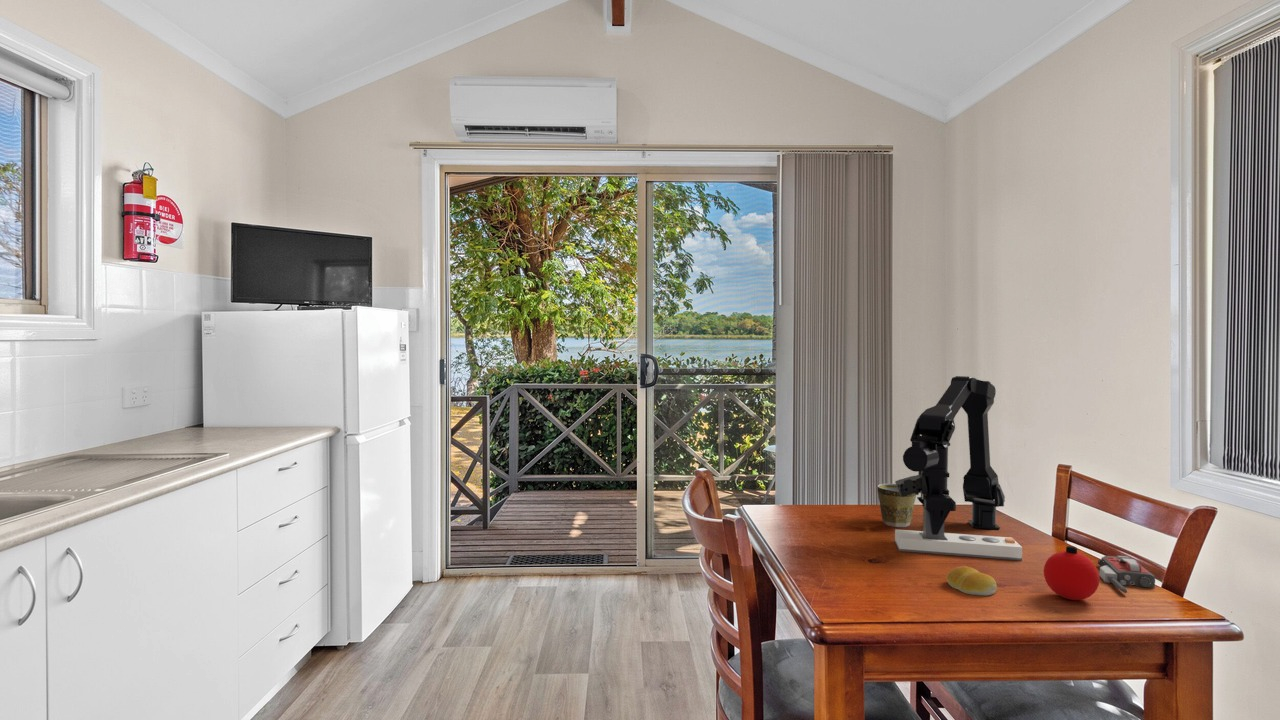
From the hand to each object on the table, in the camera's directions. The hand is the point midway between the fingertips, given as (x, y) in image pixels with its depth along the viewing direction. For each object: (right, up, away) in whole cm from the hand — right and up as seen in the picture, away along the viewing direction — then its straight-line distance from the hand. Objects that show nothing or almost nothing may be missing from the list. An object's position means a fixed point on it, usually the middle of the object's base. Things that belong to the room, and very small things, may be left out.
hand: (933, 532), depth 159 cm
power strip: (+5, -4, -1) cm, 6 cm away
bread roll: (-4, -5, -26) cm, 26 cm away
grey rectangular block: (0, -3, 0) cm, 3 cm away
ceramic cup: (0, -4, +24) cm, 24 cm away
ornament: (+13, -5, -31) cm, 34 cm away
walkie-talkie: (+31, -5, -21) cm, 37 cm away
